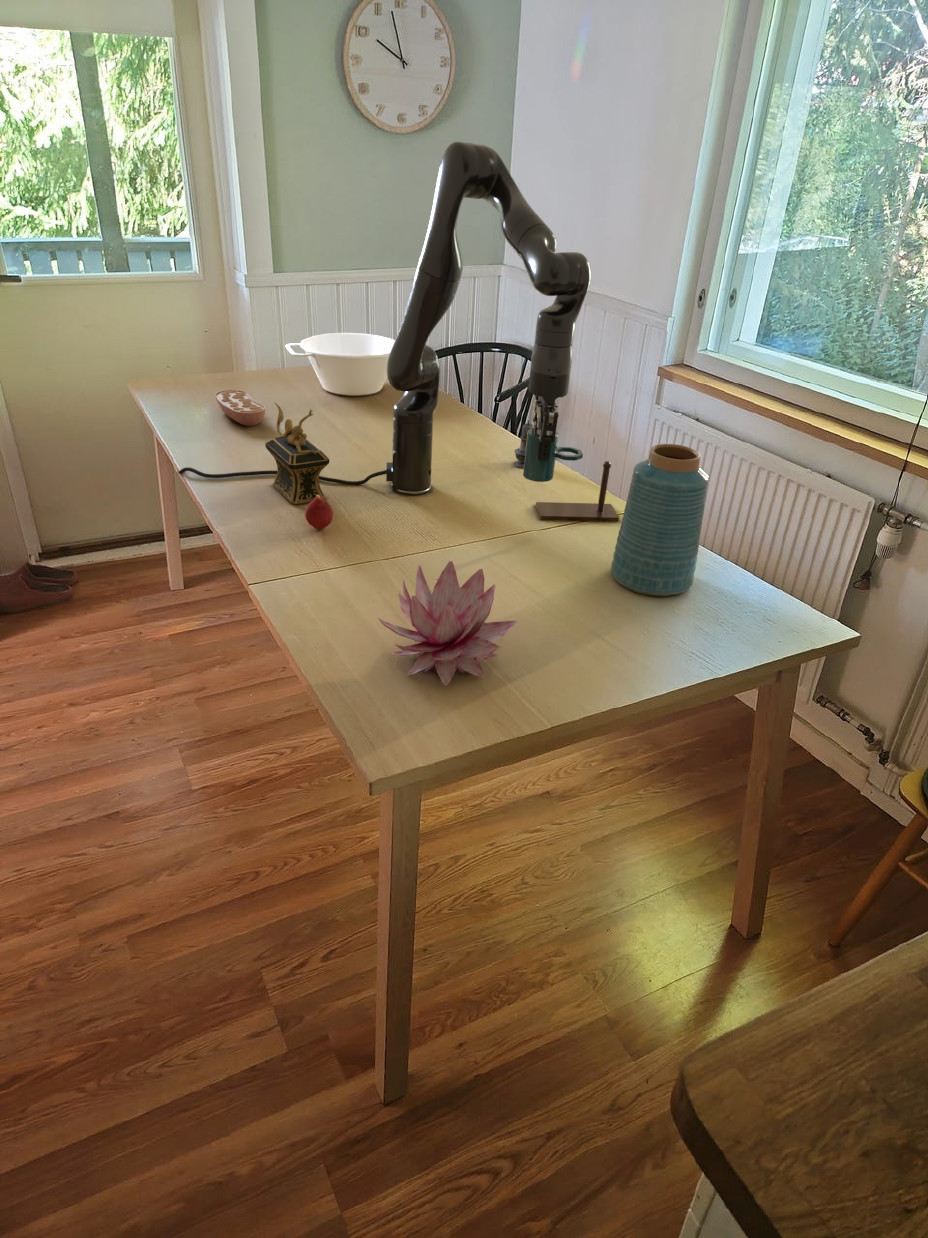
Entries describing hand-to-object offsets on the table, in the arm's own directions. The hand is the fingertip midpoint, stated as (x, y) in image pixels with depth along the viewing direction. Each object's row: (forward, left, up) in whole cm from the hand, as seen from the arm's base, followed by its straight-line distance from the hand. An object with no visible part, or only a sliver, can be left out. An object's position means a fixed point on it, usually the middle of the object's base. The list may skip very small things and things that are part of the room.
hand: (540, 453), depth 165 cm
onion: (-44, +8, -22) cm, 50 cm away
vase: (+23, -12, -22) cm, 34 cm away
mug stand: (+14, +20, -21) cm, 32 cm away
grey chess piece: (+6, +51, -22) cm, 56 cm away
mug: (+3, 0, -5) cm, 5 cm away
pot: (-42, +116, -22) cm, 125 cm away
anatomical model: (-72, +82, -22) cm, 111 cm away
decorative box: (-51, +30, -22) cm, 63 cm away
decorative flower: (-20, -42, -22) cm, 51 cm away
